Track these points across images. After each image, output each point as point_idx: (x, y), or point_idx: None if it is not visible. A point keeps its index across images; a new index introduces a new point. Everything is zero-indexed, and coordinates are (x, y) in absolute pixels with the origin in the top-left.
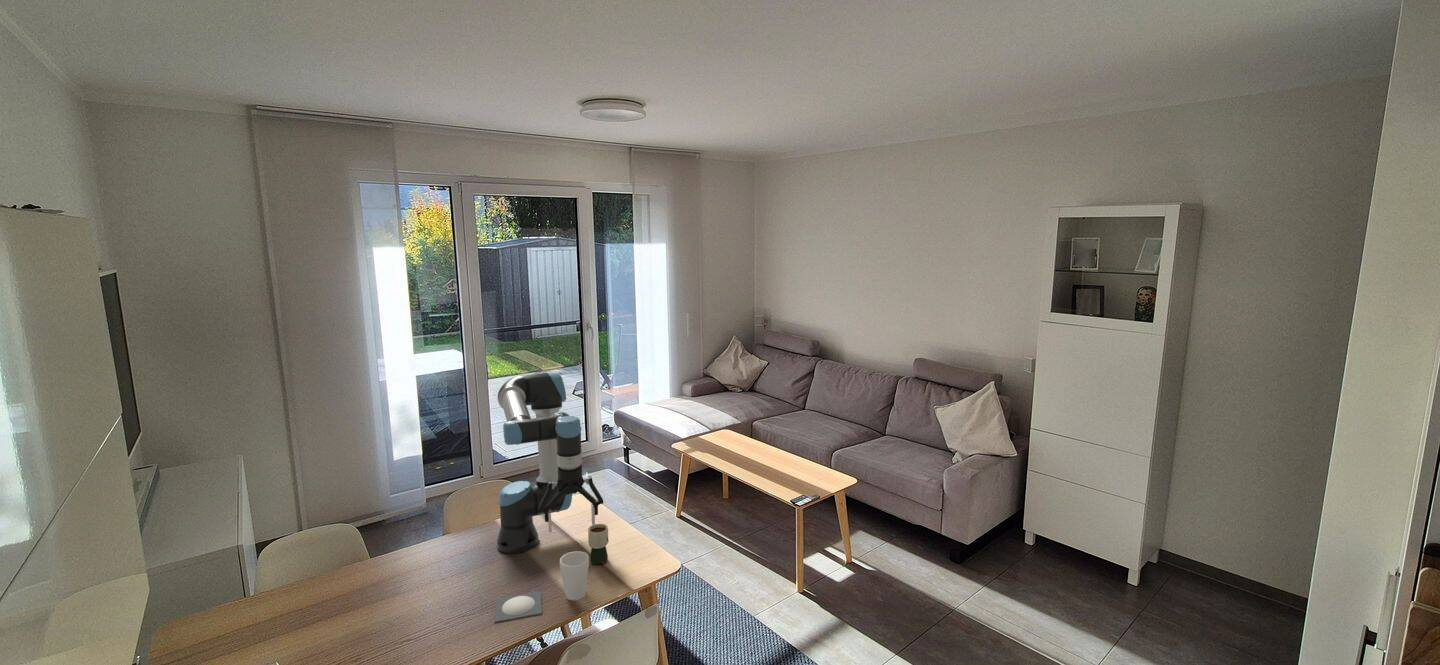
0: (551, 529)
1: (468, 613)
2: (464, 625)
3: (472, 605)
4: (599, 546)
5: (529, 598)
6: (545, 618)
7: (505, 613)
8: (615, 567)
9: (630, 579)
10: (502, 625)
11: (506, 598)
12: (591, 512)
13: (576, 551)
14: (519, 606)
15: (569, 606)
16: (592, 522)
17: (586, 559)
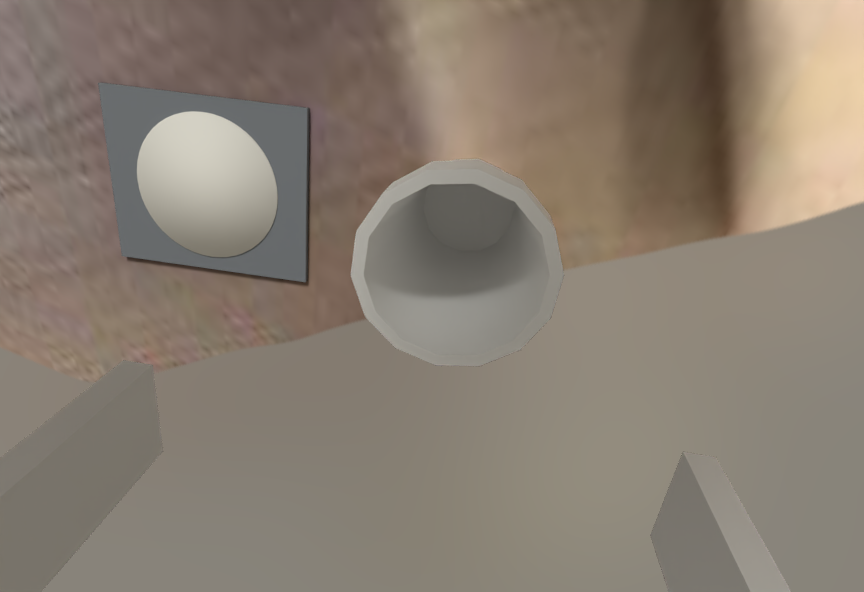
0: (141, 475)
1: (4, 140)
2: (12, 218)
3: (4, 81)
4: None
5: (253, 154)
6: (319, 313)
7: (157, 222)
8: (764, 29)
9: (775, 196)
10: (157, 282)
11: (147, 102)
12: (747, 590)
13: (494, 181)
14: (211, 198)
15: None
16: (666, 569)
17: (532, 319)
